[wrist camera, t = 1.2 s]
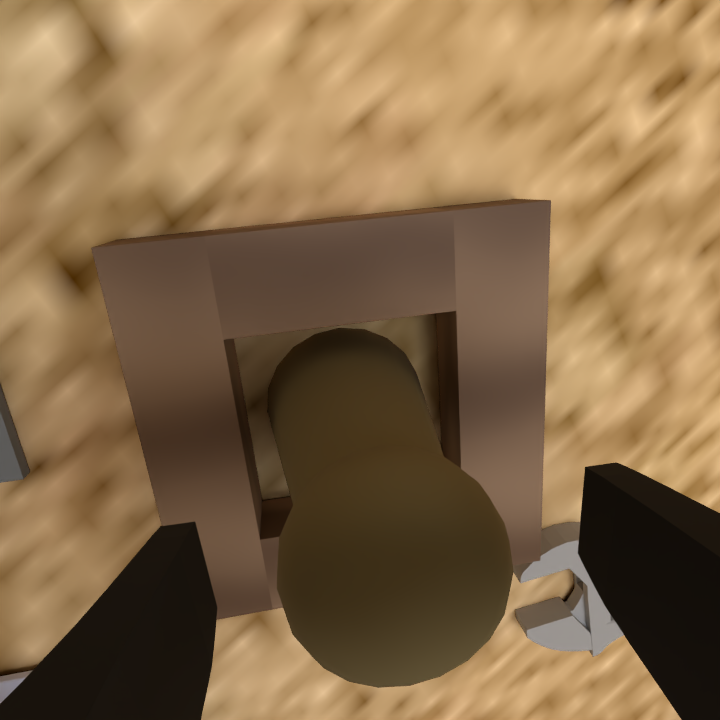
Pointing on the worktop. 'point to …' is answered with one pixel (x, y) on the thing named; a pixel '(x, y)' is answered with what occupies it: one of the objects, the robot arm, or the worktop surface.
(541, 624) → the adjustable wrench
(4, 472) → the rubber mat
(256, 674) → the worktop surface
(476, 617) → the olive brown rounded piece
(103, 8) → the worktop surface
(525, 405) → the walnut holder
